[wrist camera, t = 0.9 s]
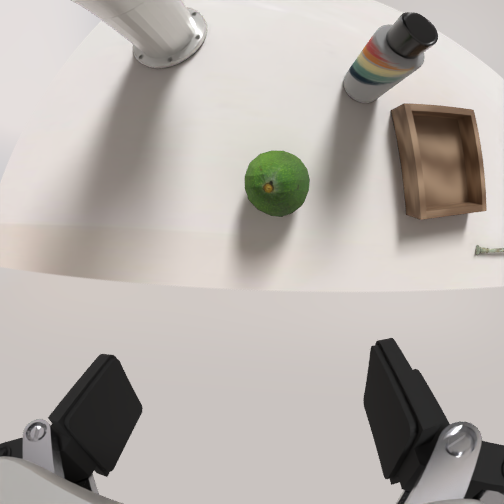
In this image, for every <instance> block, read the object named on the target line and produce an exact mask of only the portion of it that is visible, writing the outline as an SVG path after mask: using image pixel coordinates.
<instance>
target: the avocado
mask: <svg viewBox="0 0 504 504" xmlns="http://www.w3.org/2000/svg"><path fill="white" fill-rule="evenodd" d="M245 190H246V193H247V195H248V199H249V200H250V202H251V203H252V204H253V205H254V206H255V207H256V208H257V209H258V210H260V211H262V212H264V213H266V214H269V215H271V216H279V217H282V216H285V215H288V214H291V213H293V212H294V211H295V210H297V209H298V208H299V207H301V206H302V204H303V203H304V201H305V198H306V196H307V193H308V190H309V175H308V171H307V168H306V167H305V165H304V164H303V163H302V161H301V160H300V159H299V158H298V157H296V156H295V155H293V154H290V153H287V152H285V151H269V152H266V153H262V154H260V155H259V156H257V157H256V158H255V159H254V160H253V161H252V162H251V163H250V164H249V166H248V169H247V172H246V175H245Z"/></svg>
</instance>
